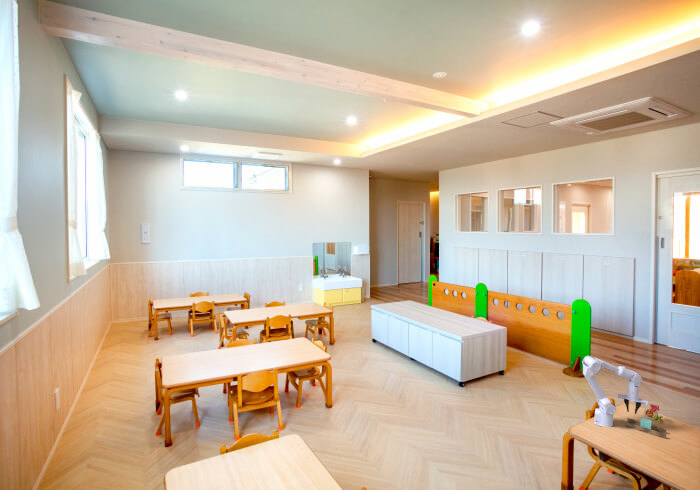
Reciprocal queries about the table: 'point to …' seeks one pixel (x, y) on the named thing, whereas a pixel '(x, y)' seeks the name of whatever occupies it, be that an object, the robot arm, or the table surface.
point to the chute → (653, 431)
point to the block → (645, 423)
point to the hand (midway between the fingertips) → (631, 412)
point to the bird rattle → (650, 413)
